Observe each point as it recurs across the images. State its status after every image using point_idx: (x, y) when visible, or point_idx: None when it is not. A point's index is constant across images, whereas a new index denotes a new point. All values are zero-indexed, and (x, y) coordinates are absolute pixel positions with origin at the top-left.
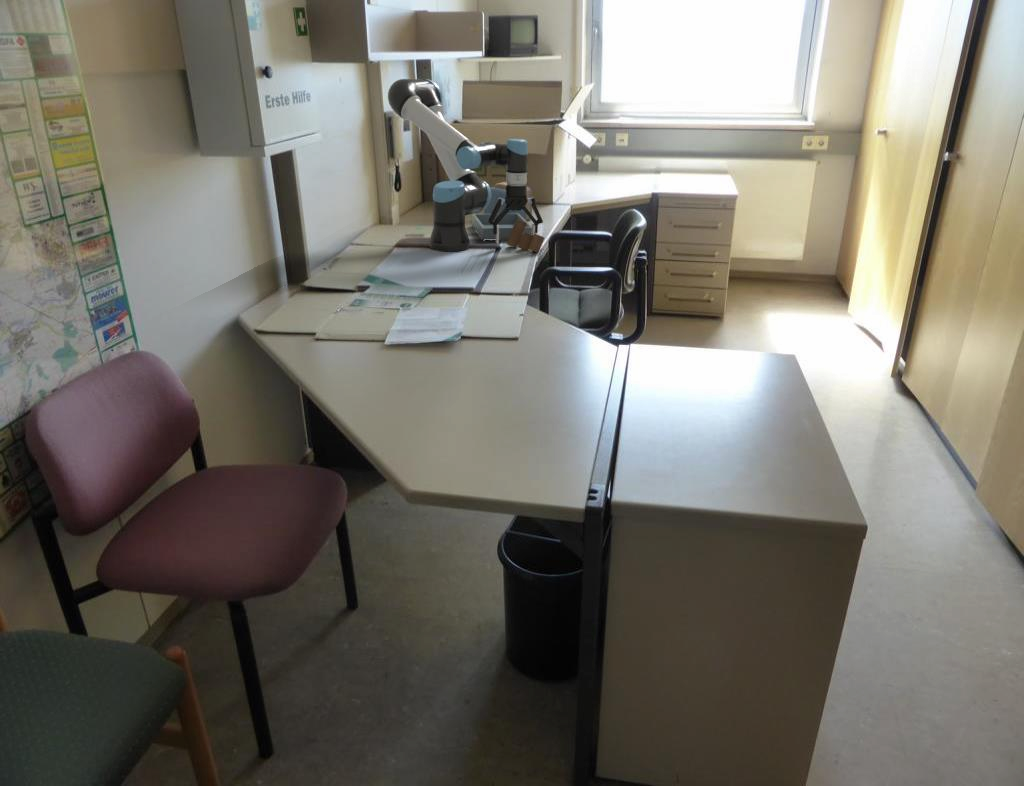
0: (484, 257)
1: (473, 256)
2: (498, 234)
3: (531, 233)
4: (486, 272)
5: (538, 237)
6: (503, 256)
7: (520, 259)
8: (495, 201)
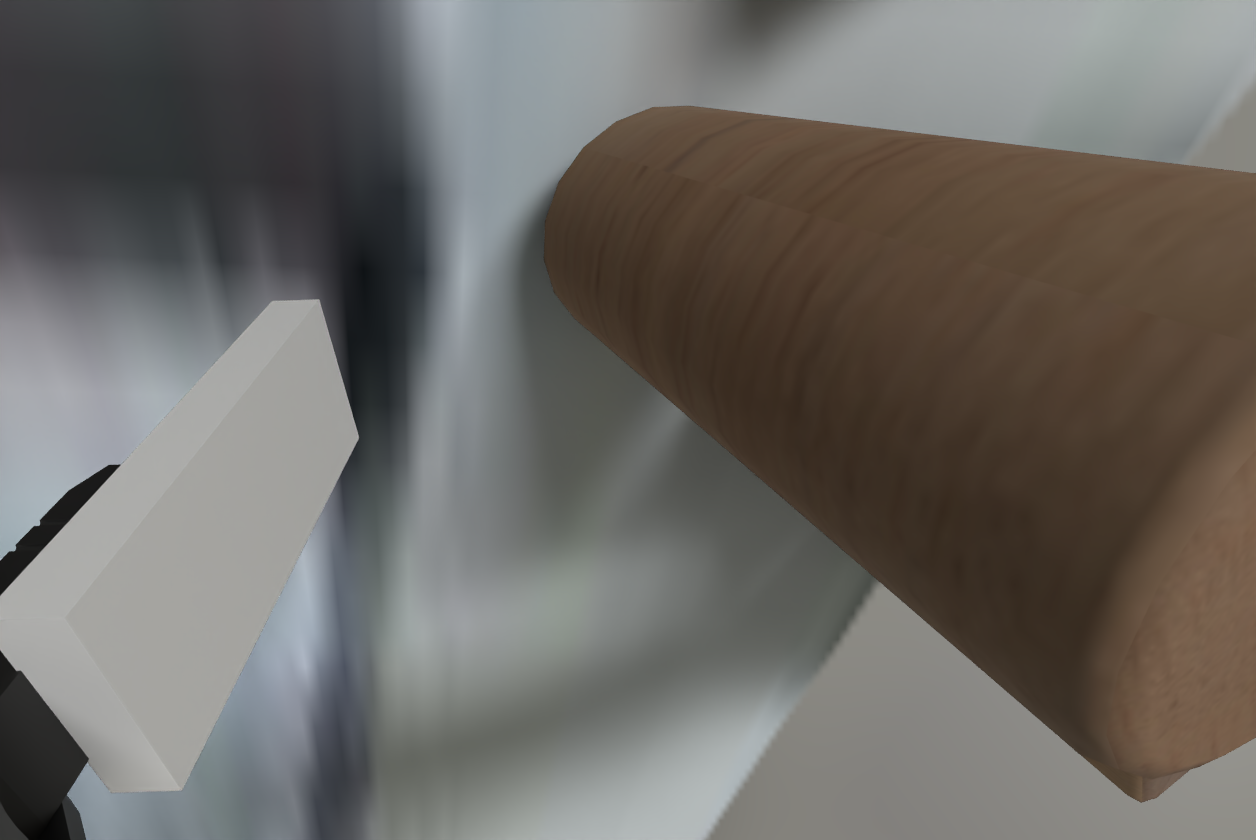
0: None
1: None
2: (274, 580)
3: None
4: None
5: (1109, 769)
6: (462, 665)
7: (651, 756)
8: None
